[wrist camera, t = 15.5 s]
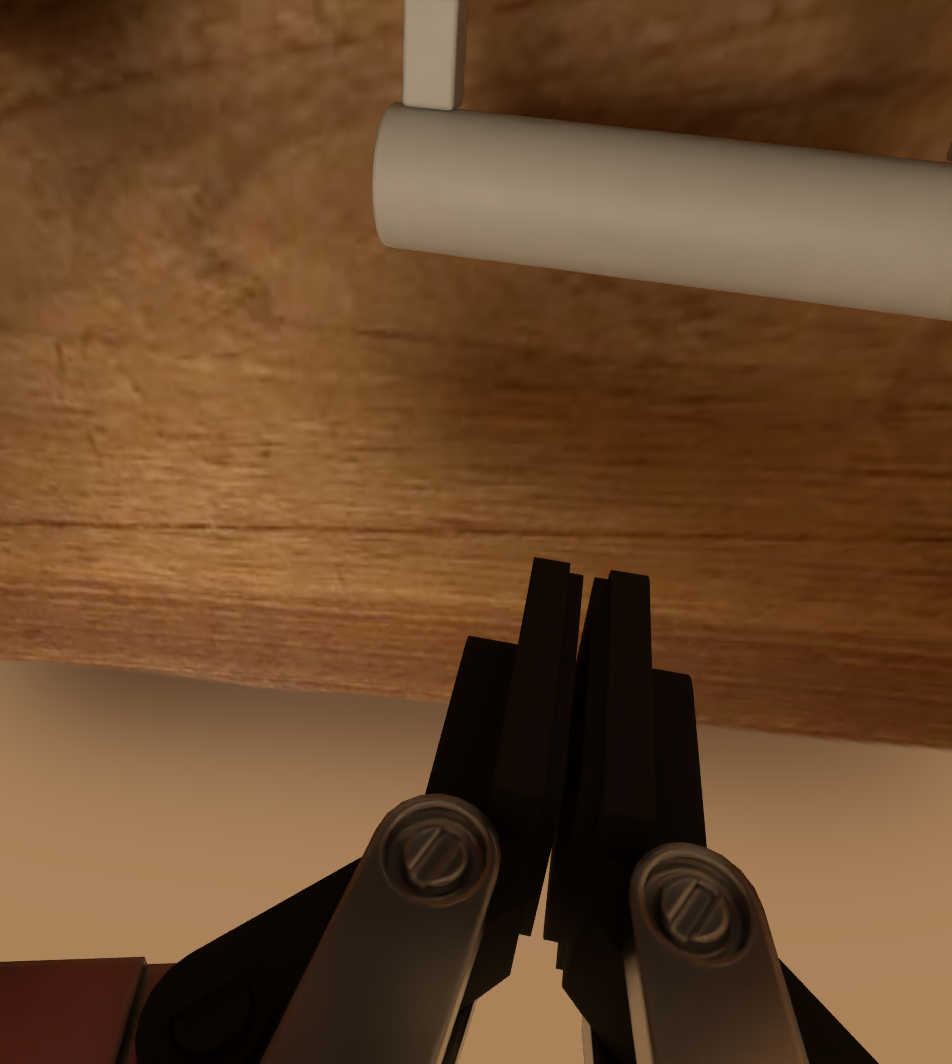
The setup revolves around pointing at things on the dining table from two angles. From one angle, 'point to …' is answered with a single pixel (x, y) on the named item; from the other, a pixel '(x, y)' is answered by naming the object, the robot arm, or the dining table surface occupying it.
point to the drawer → (651, 197)
